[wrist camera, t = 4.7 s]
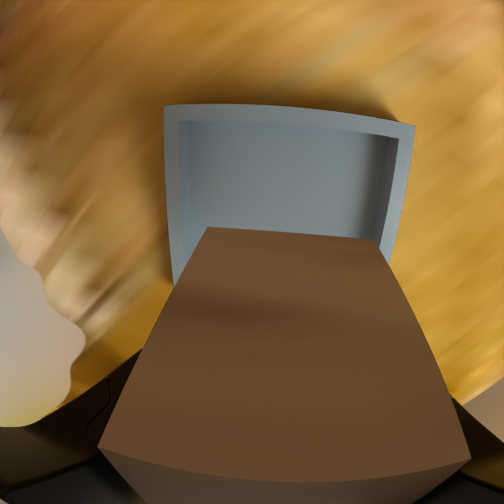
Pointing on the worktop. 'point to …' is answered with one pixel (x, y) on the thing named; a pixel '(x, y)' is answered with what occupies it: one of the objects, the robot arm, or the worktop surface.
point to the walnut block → (285, 381)
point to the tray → (282, 173)
